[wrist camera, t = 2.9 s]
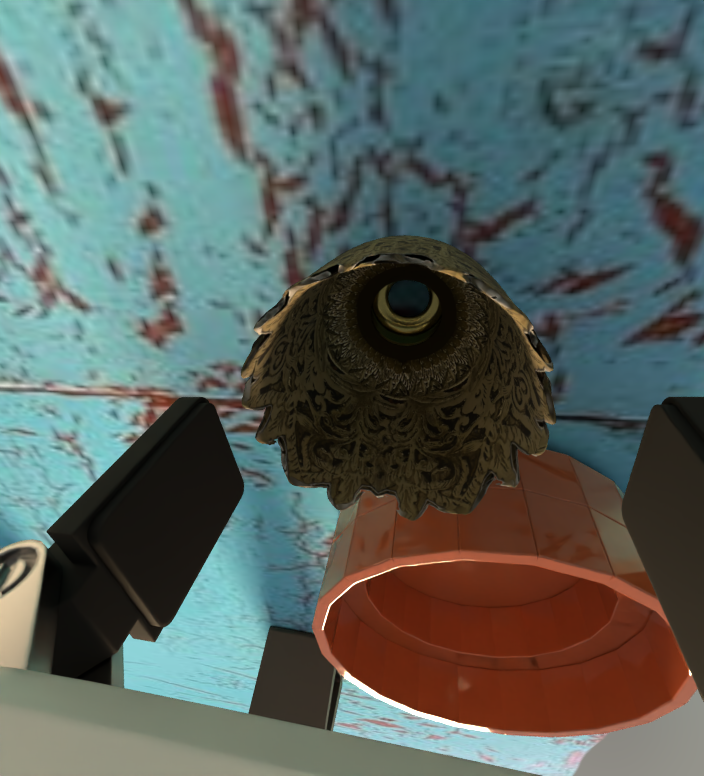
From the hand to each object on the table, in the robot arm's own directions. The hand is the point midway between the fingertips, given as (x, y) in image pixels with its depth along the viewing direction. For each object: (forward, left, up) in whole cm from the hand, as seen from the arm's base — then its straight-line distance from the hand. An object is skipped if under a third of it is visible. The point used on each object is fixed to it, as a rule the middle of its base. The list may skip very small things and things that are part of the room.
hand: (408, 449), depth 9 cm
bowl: (+15, +2, -9) cm, 17 cm away
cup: (0, -1, -9) cm, 9 cm away
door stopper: (+33, -12, -9) cm, 36 cm away
